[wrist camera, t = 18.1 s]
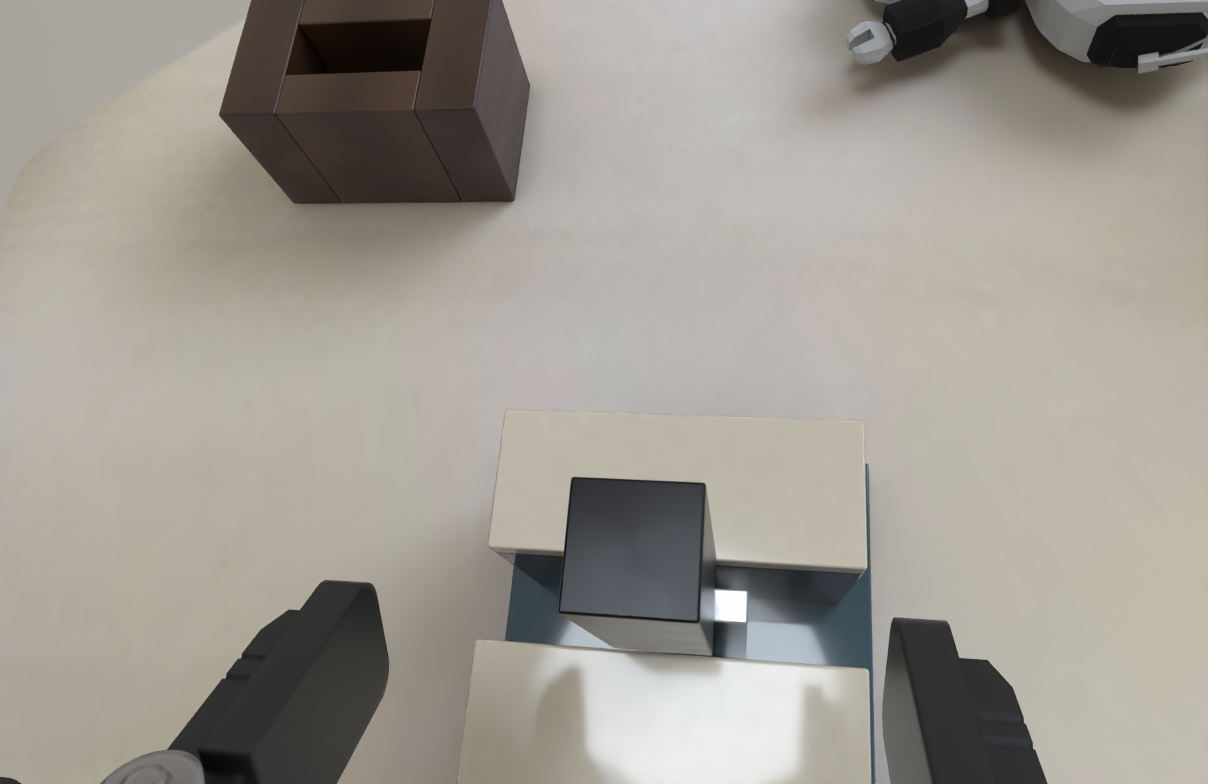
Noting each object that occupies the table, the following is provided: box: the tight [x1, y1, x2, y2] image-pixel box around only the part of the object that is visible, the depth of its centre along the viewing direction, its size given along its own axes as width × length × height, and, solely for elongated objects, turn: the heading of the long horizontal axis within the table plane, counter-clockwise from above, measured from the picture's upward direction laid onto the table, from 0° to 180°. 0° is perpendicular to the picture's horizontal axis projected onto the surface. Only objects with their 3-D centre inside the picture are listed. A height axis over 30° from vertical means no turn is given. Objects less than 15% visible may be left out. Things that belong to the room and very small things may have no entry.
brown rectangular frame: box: [219, 0, 530, 203], centre depth 36 cm, size 10×6×6 cm, turn 85°
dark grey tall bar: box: [558, 477, 748, 656], centre depth 22 cm, size 4×2×15 cm, turn 85°
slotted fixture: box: [457, 409, 875, 784], centre depth 26 cm, size 12×12×8 cm
